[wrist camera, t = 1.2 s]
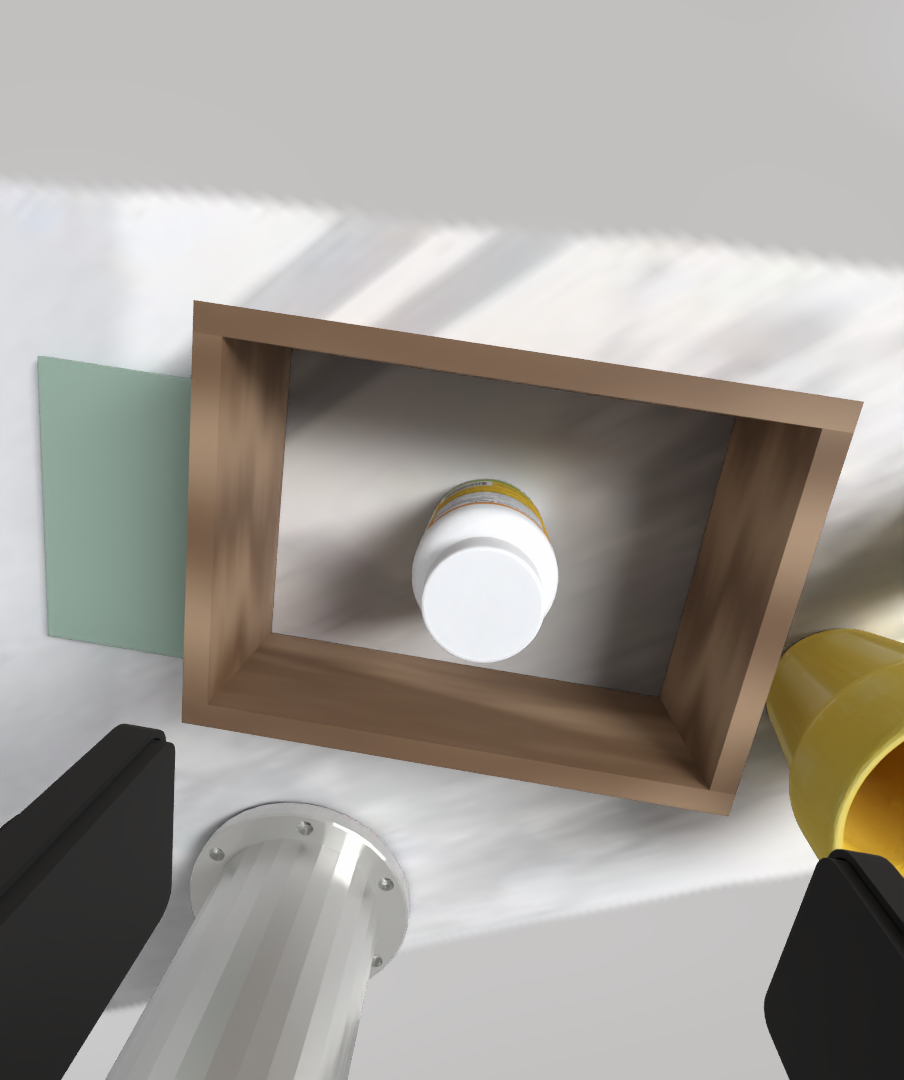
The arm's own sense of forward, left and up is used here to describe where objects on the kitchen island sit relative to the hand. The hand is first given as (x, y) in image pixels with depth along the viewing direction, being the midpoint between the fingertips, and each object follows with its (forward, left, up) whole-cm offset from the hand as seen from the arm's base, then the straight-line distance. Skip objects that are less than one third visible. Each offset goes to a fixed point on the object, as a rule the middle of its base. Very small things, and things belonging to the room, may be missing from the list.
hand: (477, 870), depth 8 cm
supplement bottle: (0, 0, -20) cm, 20 cm away
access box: (0, 0, -20) cm, 20 cm away
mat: (-2, +17, -20) cm, 26 cm away
